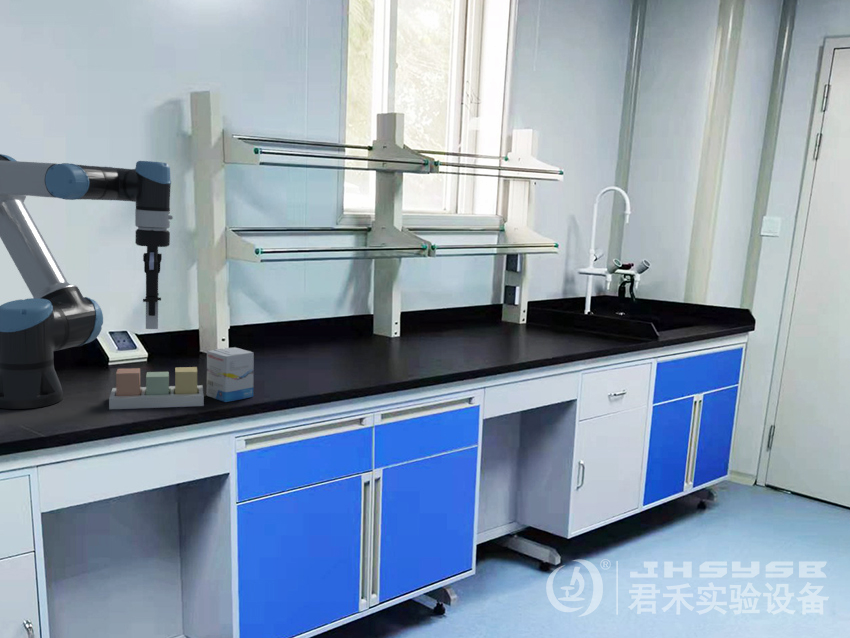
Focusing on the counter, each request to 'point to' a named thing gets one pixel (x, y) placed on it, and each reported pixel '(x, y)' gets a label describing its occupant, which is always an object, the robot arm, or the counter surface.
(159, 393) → the sage button
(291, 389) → the counter surface
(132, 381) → the terracotta button
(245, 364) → the ink box
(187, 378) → the ochre button
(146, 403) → the board
